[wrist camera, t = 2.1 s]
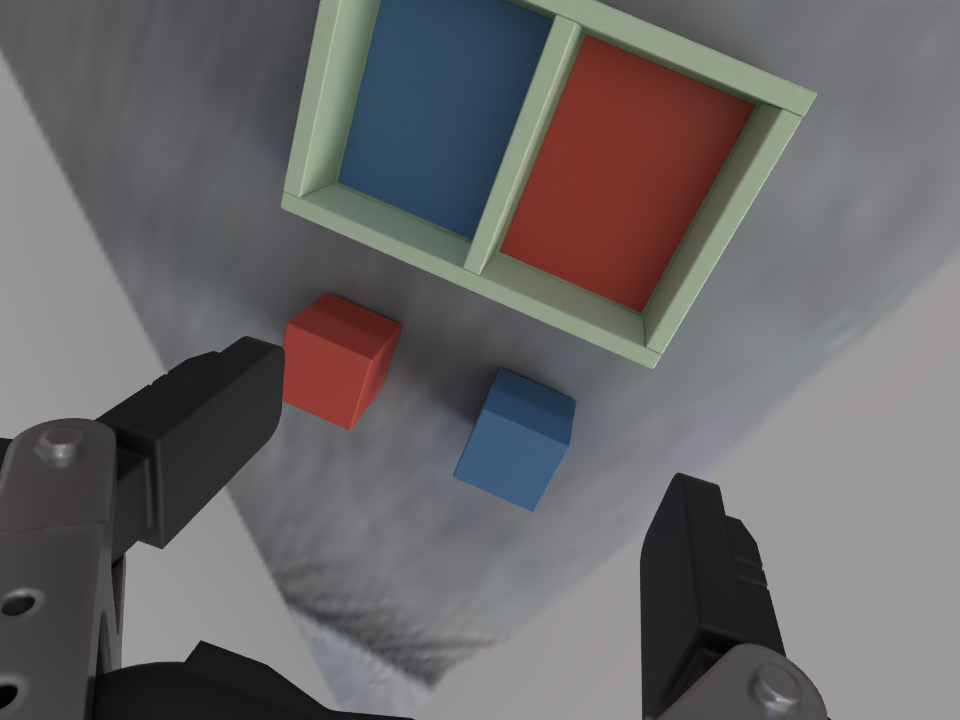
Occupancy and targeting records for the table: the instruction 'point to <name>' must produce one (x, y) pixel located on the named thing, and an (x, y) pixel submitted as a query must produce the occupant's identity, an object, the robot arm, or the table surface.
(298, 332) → the red block
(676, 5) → the table surface
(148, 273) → the table surface
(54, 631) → the robot arm
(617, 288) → the sorting tray
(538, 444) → the blue block
